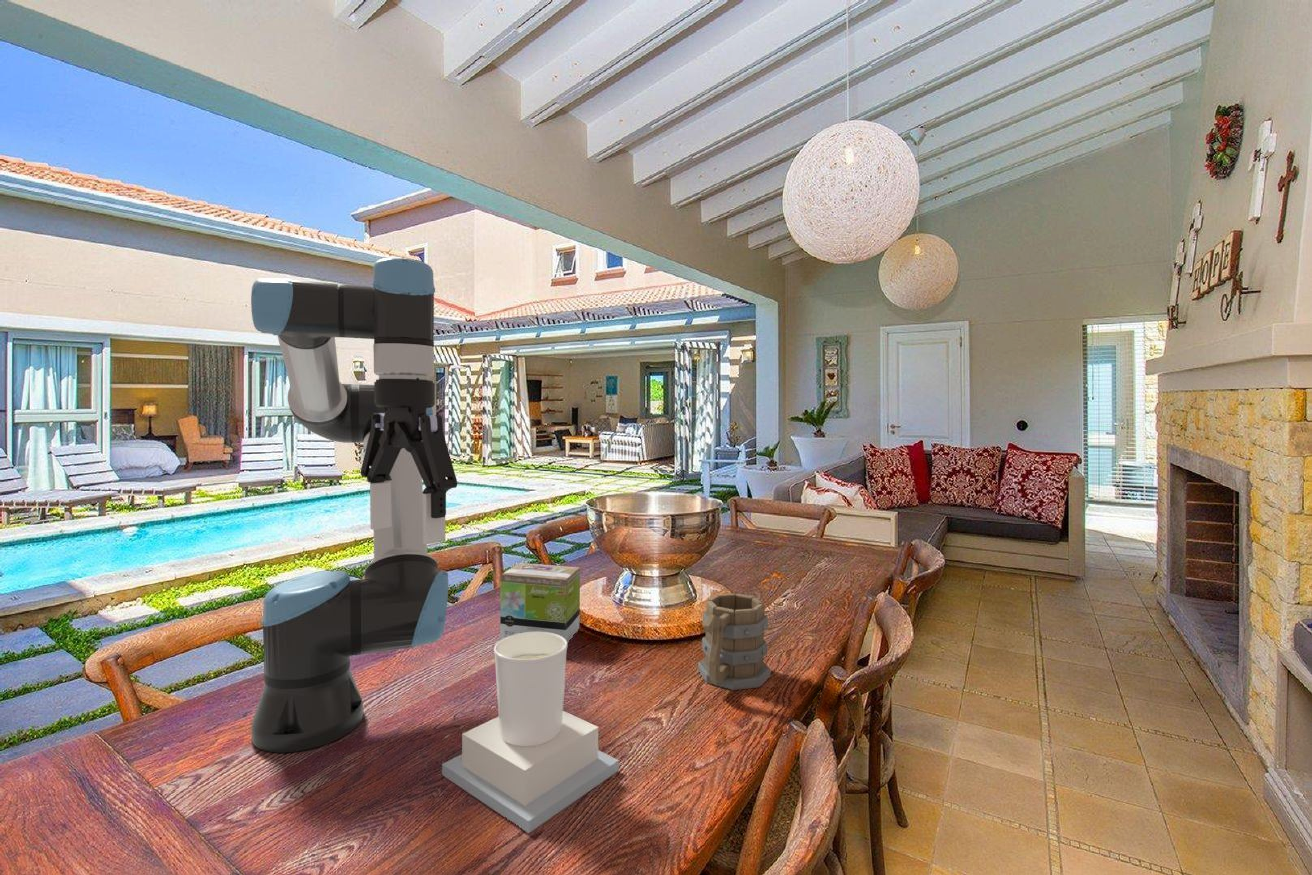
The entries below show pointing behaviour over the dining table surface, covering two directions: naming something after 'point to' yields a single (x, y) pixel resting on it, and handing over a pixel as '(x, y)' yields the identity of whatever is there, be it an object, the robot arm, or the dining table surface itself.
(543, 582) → the tea box
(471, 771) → the pedestal
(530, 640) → the candle holder
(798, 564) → the dining table surface
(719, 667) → the tankard
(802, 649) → the dining table surface
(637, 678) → the dining table surface
